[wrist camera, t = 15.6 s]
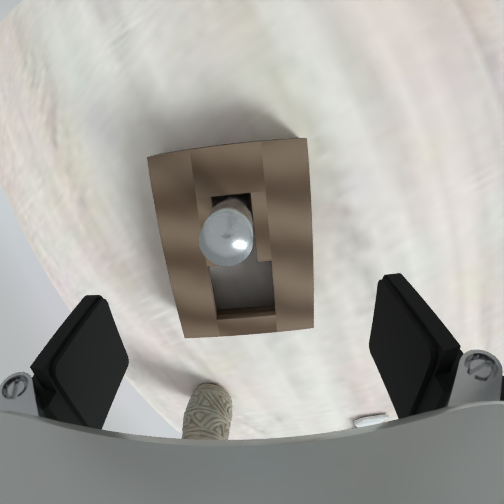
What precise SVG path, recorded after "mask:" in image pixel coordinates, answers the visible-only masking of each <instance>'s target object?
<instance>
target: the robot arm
mask: <svg viewBox="0 0 504 504" xmlns="http://www.w3.org/2000/svg"><path fill="white" fill-rule="evenodd" d="M369 349H370V353H371V355H372V357H373V359H374V361H375V364H376V366H377V368H378V370H379V373H380V375H381V377H382V380H383V382H384V384H385V387H386V389H387V391H388V394H389V396H390V398H391V401H392V403H393V406H394V408H395V411H396V413H397V415H398V418H399V419H397V420H393V421H388V422H384V423H379V424H374V425H369V426H364V427H358V428H353V429H347V430H341V431H335V432H328V433H321V434H313V435H305V436H295V437H284V438H270V439H251V440H196V439H176V438H162V437H152V436H142V435H133V434H126V433H119V432H112V431H106V430H102V427H103V424H104V422H105V419H106V417H107V414H108V412H109V409H110V407H111V405H112V402H113V400H114V397H115V395H116V393H117V390H118V388H119V386H120V383H121V381H122V379H123V376H124V374H125V372H126V369H127V367H128V363H129V359H128V355H127V353H126V350H125V348H124V345H123V343H122V340H121V338H120V335H119V333H118V330H117V327H116V325H115V322H114V319H113V316H112V314H111V311H110V308H109V305H108V302H107V301H106V299H103V297H102V296H100V295H87V296H85V297H84V298H83V299H82V300H81V302H80V303H79V304H78V305H77V306H76V308H75V309H74V310H73V311H72V312H71V314H70V315H69V316H68V317H67V319H66V320H65V321H64V322H63V324H62V325H61V326H60V328H59V329H58V330H57V331H56V333H55V334H54V335H53V337H52V338H51V339H50V341H49V342H48V343H47V345H46V346H45V347H44V349H43V350H42V351H41V353H40V354H39V355H38V357H37V358H36V359H35V361H34V362H33V364H32V365H31V366H30V368H31V369H32V371H33V373H34V376H33V377H31V376H30V375H29V374H28V373H25V372H18V373H15V374H12V375H10V376H9V377H7V378H6V379H5V380H4V381H3V383H2V384H1V385H0V504H504V376H502V366H501V364H500V362H499V360H498V359H497V358H496V357H495V356H494V355H492V354H491V353H489V352H486V351H484V350H470V351H468V352H466V353H464V354H463V352H462V351H461V350H460V345H459V343H458V342H457V341H456V339H455V338H454V337H453V336H452V334H451V333H450V332H449V330H448V329H447V328H446V327H445V325H444V324H443V323H442V322H441V320H440V319H439V318H438V317H437V315H436V314H435V313H434V312H433V310H432V309H431V308H430V307H429V306H428V304H427V303H426V302H425V301H424V300H423V298H422V297H421V296H420V295H419V294H418V293H417V291H416V290H415V289H414V288H413V287H412V286H411V284H410V283H409V282H408V281H407V280H406V279H405V278H404V276H403V275H402V274H400V273H397V274H388V275H384V276H383V279H382V280H379V282H378V286H377V294H376V302H375V309H374V316H373V322H372V329H371V335H370V340H369Z"/></svg>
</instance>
